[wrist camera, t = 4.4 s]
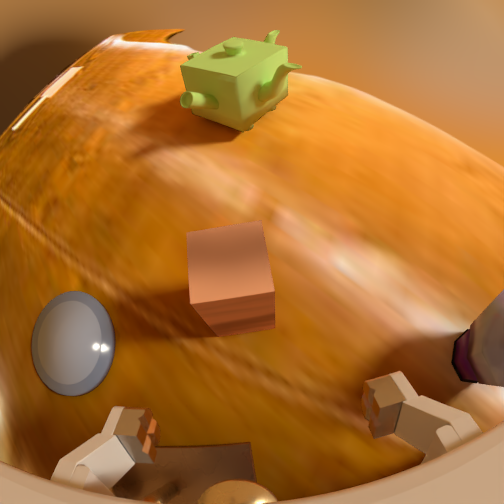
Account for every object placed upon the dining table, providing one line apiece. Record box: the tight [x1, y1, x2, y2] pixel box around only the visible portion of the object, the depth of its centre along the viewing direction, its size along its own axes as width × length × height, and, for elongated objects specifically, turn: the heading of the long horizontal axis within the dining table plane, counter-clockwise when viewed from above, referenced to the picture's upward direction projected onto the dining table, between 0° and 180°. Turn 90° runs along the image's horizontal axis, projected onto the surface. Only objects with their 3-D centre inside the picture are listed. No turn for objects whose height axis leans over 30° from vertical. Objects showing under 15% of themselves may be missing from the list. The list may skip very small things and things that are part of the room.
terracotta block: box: [187, 220, 275, 337], centre depth 23 cm, size 5×5×9 cm
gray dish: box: [32, 291, 115, 396], centre depth 25 cm, size 11×11×1 cm
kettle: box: [180, 30, 302, 132], centre depth 35 cm, size 15×14×11 cm
